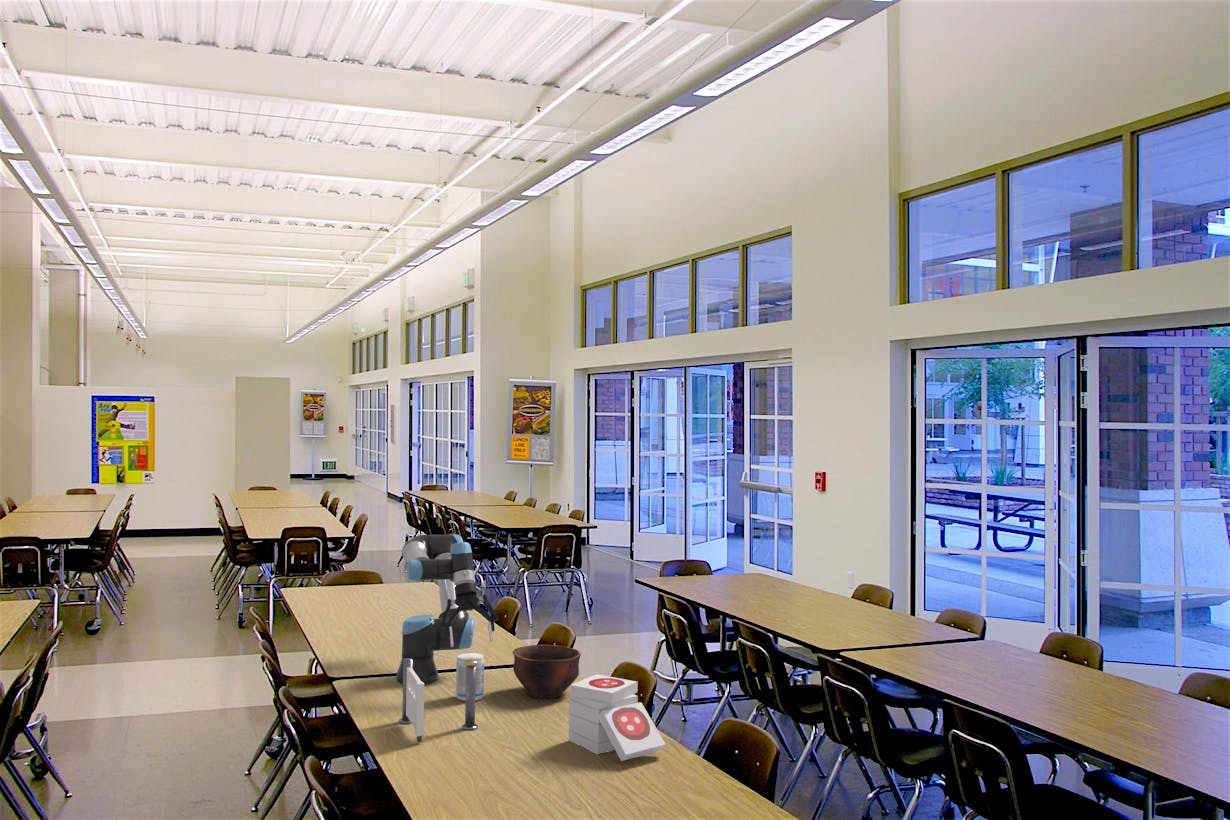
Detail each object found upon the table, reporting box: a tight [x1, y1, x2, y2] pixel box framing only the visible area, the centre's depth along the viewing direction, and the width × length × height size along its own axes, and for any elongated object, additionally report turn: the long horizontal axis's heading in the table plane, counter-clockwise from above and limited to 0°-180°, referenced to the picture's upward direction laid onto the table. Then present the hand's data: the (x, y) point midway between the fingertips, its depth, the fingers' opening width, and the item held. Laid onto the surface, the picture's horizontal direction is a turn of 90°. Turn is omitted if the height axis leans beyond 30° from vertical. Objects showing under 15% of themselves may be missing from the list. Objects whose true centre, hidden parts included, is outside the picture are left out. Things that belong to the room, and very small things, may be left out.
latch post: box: [461, 660, 479, 731], centre depth 300 cm, size 5×5×21 cm
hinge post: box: [398, 658, 413, 725], centre depth 305 cm, size 5×5×20 cm
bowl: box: [512, 644, 582, 699], centre depth 339 cm, size 25×25×15 cm
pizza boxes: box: [568, 673, 666, 762], centre depth 284 cm, size 19×30×18 cm, turn 38°
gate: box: [406, 667, 425, 743], centre depth 293 cm, size 20×2×18 cm, turn 22°
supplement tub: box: [455, 652, 485, 702], centre depth 332 cm, size 10×10×15 cm
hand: (472, 643), depth 330 cm, fingers open, 13 cm apart
